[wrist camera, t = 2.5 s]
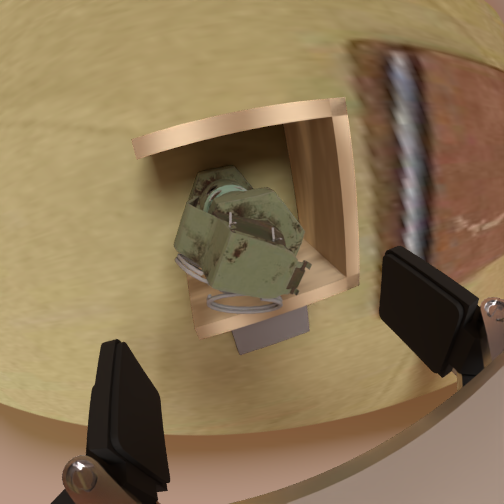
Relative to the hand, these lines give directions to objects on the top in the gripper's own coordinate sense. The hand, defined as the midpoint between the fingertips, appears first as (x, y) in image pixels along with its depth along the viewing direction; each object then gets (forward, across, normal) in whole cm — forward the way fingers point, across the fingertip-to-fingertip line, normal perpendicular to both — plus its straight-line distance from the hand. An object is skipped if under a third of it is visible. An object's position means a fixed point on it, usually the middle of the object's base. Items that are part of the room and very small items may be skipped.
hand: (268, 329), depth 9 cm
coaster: (+18, -4, +15) cm, 24 cm away
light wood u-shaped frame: (+18, -3, +1) cm, 19 cm away
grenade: (+19, -1, +1) cm, 19 cm away
